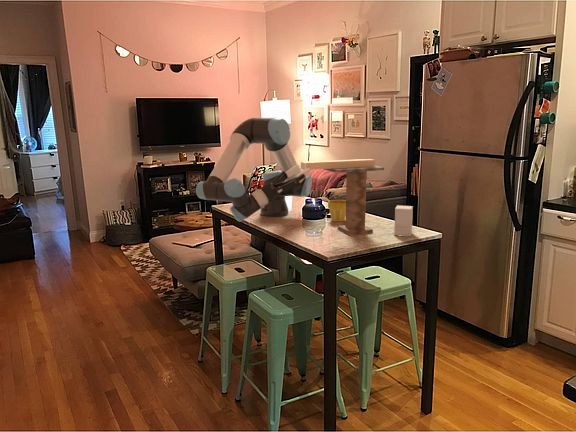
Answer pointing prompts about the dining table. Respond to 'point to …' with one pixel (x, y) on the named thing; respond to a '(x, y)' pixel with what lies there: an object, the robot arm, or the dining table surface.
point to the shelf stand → (355, 199)
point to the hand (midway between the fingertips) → (304, 168)
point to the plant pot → (337, 210)
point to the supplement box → (403, 220)
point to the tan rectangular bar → (338, 164)
